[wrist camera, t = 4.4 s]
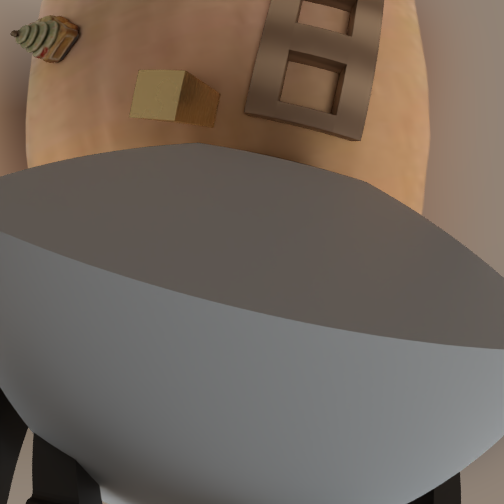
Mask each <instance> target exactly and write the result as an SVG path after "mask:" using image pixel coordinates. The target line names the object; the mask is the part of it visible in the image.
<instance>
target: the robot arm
mask: <svg viewBox="0 0 504 504" xmlns="http://www.w3.org/2000/svg"><path fill="white" fill-rule="evenodd" d="M27 429H28V426H27V425H26V423H25V422H24V421H23V419H22V418H21V417H20V415H19V414H18V413H17V411H16V410H15V409H14V407H13V406H12V404H11V403H10V401H9V400H8V398H7V397H6V395H5V394H4V392H3V391H2V389H1V388H0V504H7V500H8V496H9V491H10V487H11V482H12V478H13V474H14V471H15V467H16V463H17V460H18V456H19V453H20V450H21V447H22V444H23V441H24V438H25V435H26V432H27ZM32 477H33V478H32V481H33V494H32V497H31V498H29V499H28V500H27V502H26V504H102V499H101V492H100V485H99V484H98V483H97V482H96V481H95V480H94V479H93V478H92V477H91V476H90V475H89V474H88V473H87V472H86V471H85V469H84V468H83V467H82V466H81V465H80V464H79V463H78V462H77V460H76V459H74V458H72V457H71V456H69V455H67V454H66V453H64V452H62V451H61V450H59V449H58V448H56V447H55V446H53V445H51V444H50V443H48V442H47V441H46V440H44V439H43V438H41V437H40V436H38V435H37V434H36V433H34V438H33V458H32ZM407 504H461V485H460V472H458V473H457V474H455V475H454V476H453V477H451V478H450V479H448V480H447V481H445V482H444V483H442V484H440V485H439V486H437V487H436V488H434V489H432V490H431V491H429V492H427V493H426V494H424V495H422V496H420V497H419V498H417V499H415V500H413V501H411V502H409V503H407Z"/></svg>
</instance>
